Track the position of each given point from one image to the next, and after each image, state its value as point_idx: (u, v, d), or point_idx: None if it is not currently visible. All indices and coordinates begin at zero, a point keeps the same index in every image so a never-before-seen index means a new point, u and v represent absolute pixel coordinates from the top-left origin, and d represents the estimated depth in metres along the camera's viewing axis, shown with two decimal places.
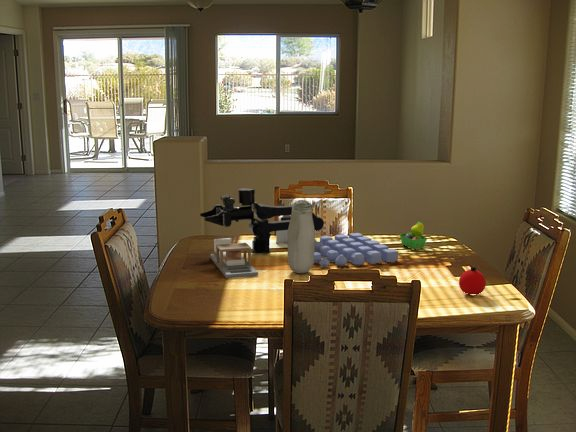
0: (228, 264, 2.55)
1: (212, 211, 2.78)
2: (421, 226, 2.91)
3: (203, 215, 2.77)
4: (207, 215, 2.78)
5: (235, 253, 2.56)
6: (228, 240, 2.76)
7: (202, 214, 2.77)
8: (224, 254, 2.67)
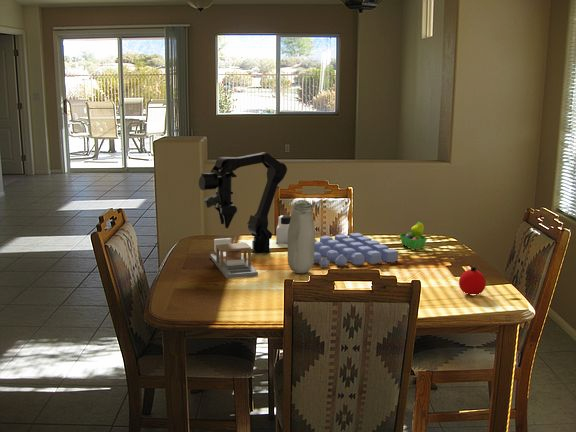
0: (228, 264, 2.55)
1: (220, 211, 2.74)
2: (421, 226, 2.91)
3: (223, 221, 2.75)
4: (223, 216, 2.75)
5: (235, 253, 2.56)
6: (228, 240, 2.76)
7: (222, 222, 2.75)
8: (224, 254, 2.67)
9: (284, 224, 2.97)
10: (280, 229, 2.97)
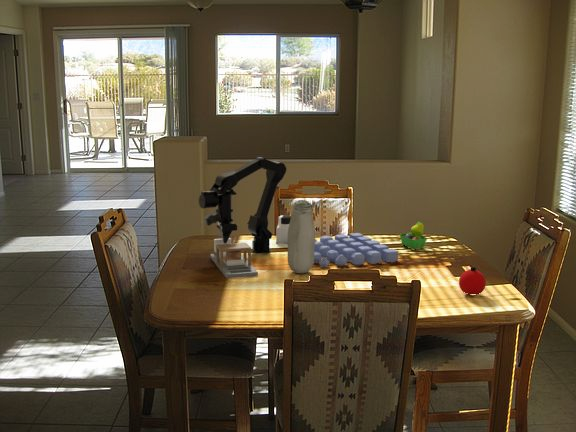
0: (228, 264, 2.55)
1: (222, 230, 2.72)
2: (421, 226, 2.91)
3: None
4: None
5: (235, 253, 2.56)
6: (228, 240, 2.76)
7: None
8: (224, 254, 2.67)
9: (284, 224, 2.97)
10: (280, 229, 2.97)
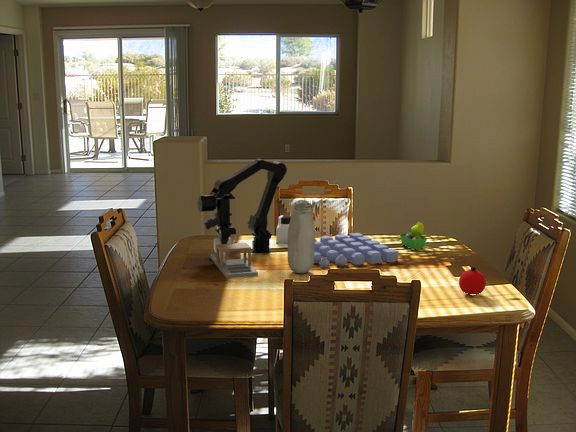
0: (227, 263, 2.56)
1: (221, 234, 2.74)
2: (421, 226, 2.91)
3: (224, 243, 2.75)
4: None
5: (234, 252, 2.57)
6: (228, 240, 2.77)
7: None
8: (224, 253, 2.68)
9: (284, 224, 2.97)
10: (280, 229, 2.97)
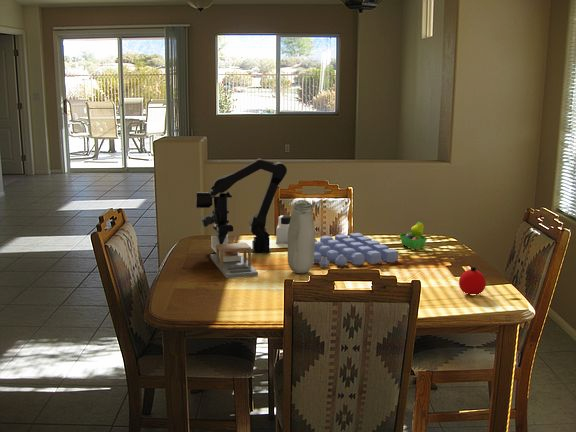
0: (225, 260, 2.60)
1: (218, 231, 2.79)
2: (421, 226, 2.91)
3: None
4: None
5: None
6: None
7: None
8: None
9: (284, 224, 2.97)
10: (280, 229, 2.97)
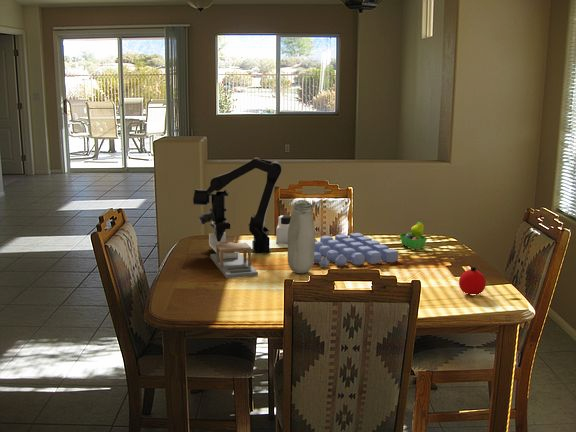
0: None
1: (216, 229, 2.84)
2: (421, 226, 2.91)
3: None
4: None
5: None
6: None
7: None
8: None
9: (284, 224, 2.97)
10: (280, 229, 2.97)
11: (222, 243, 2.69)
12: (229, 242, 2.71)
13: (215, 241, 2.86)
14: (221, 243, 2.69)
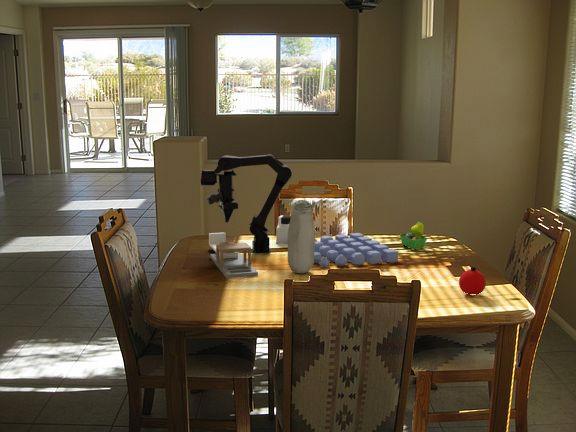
0: None
1: None
2: (421, 226, 2.91)
3: None
4: None
5: None
6: (222, 234, 2.86)
7: None
8: None
9: (284, 224, 2.97)
10: (280, 229, 2.97)
11: (222, 243, 2.69)
12: (229, 242, 2.71)
13: (215, 241, 2.86)
14: (221, 243, 2.69)
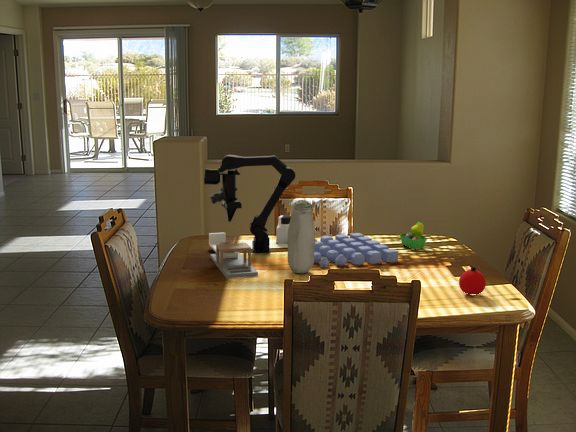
0: None
1: (226, 209, 2.80)
2: (421, 226, 2.91)
3: None
4: None
5: None
6: (222, 234, 2.86)
7: None
8: None
9: (284, 224, 2.97)
10: (280, 229, 2.97)
11: (222, 243, 2.69)
12: (229, 242, 2.71)
13: (215, 241, 2.86)
14: (221, 243, 2.69)
